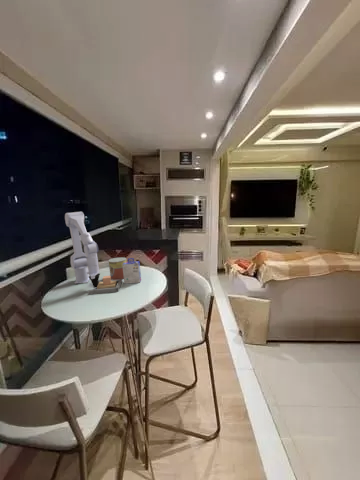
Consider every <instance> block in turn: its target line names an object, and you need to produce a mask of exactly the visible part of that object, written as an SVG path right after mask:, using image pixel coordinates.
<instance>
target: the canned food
mask: <svg viewBox="0 0 360 480" xmlns="http://www.w3.org/2000/svg"><path fill="white" fill-rule="evenodd" d="M107 262H108V266H109V267H108V268H109V276H111V280H119V279H122V281H124V275H123V266H122V265H123V263H124V262H128V260H127V258H126V257H125V256H123V257H114V258H110V259H108V261H107Z"/></svg>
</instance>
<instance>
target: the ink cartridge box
mask: <svg viewBox="0 0 360 480" xmlns="http://www.w3.org/2000/svg"><path fill="white" fill-rule="evenodd" d="M122 266H123V275H124V279H123V283H124V284H126V285H127V284H134V283H135V284H136V283H137V284H138V283H141V281H142V274H141V264H140V260H138V261H137V260H135V258H133V257H129V258H127V262H124V263H123V265H122Z"/></svg>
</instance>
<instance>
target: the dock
mask: <svg viewBox="0 0 360 480" xmlns="http://www.w3.org/2000/svg"><path fill="white" fill-rule="evenodd" d="M111 281H117V285H116V287H115V288H103V289H97V288H93V289H89V290H87V294H88V296H89V295H94V294H105V293H118V292H119V291H120V288H121V286H122V285H123V280H122V279H119V280H111ZM99 282H103V280H98V284H99Z"/></svg>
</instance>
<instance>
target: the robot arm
mask: <svg viewBox="0 0 360 480" xmlns="http://www.w3.org/2000/svg"><path fill="white" fill-rule="evenodd" d="M64 221H65V225H66V227H68V228H69V232H70V236H71V243H72V247H73V253H72V255H70V266H71V268H72V269H74V275H75V281H74V283H73V284H86V283H88V282H89V281H90V282H91V283H92V286H93V289H96V288H97V286H98V281H99V280H100V279H99V278H100V275H101V273H100V268H99V260H98V252H99V245H98V244H97V242H95V240H93V238H92V236H91V233H90V232H87V229H86V226H85V225H86V224H85V214H84V212H83V211H74V212H66V213H65V214H64ZM82 245H83V246H82ZM82 247H83V248H82Z"/></svg>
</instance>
